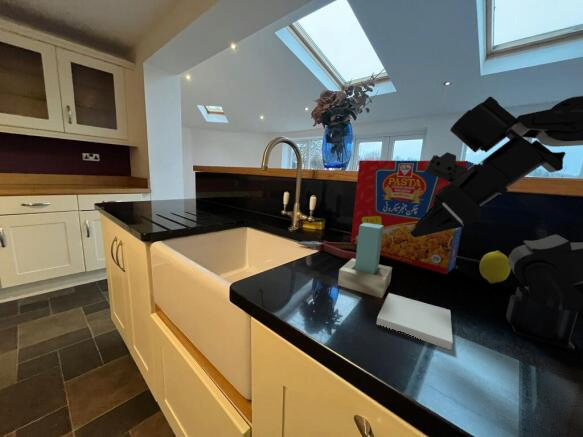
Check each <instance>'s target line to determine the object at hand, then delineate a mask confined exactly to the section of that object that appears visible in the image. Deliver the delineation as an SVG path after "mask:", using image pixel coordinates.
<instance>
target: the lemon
mask: <svg viewBox="0 0 583 437" xmlns="http://www.w3.org/2000/svg"><path fill="white" fill-rule="evenodd" d="M508 260H509V257H508V256H507V255H505V254H504V253H503V252H501V251H500V250H495V251H491V252H487V253H486V254H484V255H483V257H482V258H481V260H480V262H479V272H480V275H481V276H482V277H483V279H485V280H487V281H488V283H490V284H495V283H501V282H503V281H505V280H507V278H508V277H509V275H510V273H511V270H512V269H511V267H510V265H509V261H508Z"/></svg>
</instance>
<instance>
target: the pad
mask: <svg viewBox="0 0 583 437" xmlns="http://www.w3.org/2000/svg"><path fill="white" fill-rule="evenodd" d="M451 318H452V316H451V309H447V308H445V307H440V306H437V305H433V304H430V303H429V304H428V303H426V302H422V301H419V300H416V299H415V300H414V299H412V298H407V297H404V296H401V295H397V294H394V293H390V292H388V294H387V296H386V297H385V301H384V302H383V304H382V306H381V309H380V311H379V313H378V315H377V318H376V325H377V326H380V325H381V327H383V326H384V327H383V328H386V327H387V329H389V328H390V329H389V330H392V329H394V330H396V331H395V332H397V331H401V332H404V333H406V334H409V335H411V336H410V337H412V336H414V337H413V338H415V337H416V338H415V339H417V338H418V340H420V339H421V341H424V342H426V343H430V344H432V345H436V346H439V347H440V348H443V349H446V350H449V351H451V350H452V348H453V344H454V342H453V340H454V339H453V332H452V331H453V328H452V319H451ZM394 330H393V331H394ZM406 334H405V335H406ZM409 335H408V336H409Z"/></svg>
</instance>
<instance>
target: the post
mask: <svg viewBox="0 0 583 437" xmlns="http://www.w3.org/2000/svg"><path fill="white" fill-rule="evenodd" d="M383 227H384V226H383V225H377V224H370V223H363V224H361V225H360V226H359V235H358V244H357V250H356V262H355V270H357V271H361V272H365V273H369V274H372V275H377V273H378V265H379V263H380V258H381V257H380V256H381V255H380V250H381V242H382V235H383Z"/></svg>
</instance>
